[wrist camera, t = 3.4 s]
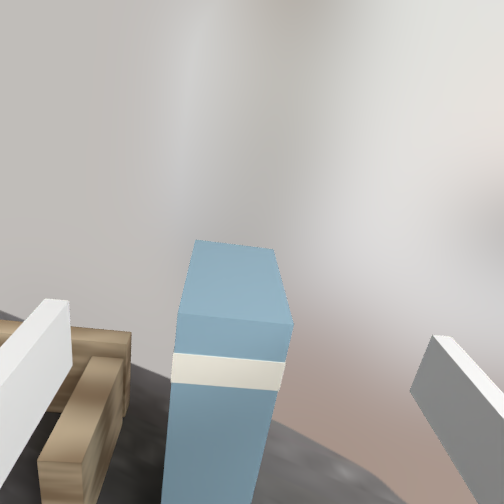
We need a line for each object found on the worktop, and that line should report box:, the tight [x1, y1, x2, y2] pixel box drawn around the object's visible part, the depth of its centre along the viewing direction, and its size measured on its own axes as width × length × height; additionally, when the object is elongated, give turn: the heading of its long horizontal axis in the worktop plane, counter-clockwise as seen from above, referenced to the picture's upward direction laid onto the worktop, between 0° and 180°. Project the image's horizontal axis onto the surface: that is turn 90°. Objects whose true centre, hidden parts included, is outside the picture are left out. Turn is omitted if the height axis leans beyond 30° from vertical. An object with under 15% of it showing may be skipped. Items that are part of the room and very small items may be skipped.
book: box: [161, 240, 294, 504], centre depth 28 cm, size 10×6×24 cm, turn 3°
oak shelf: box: [0, 320, 131, 504], centre depth 33 cm, size 14×16×10 cm
